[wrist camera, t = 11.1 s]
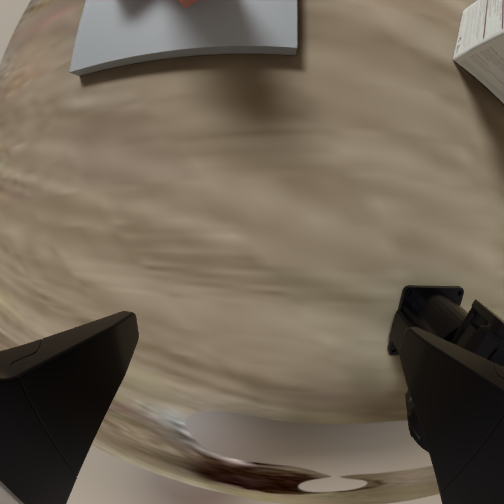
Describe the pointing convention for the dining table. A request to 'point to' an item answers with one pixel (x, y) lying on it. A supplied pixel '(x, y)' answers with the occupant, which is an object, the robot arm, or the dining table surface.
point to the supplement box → (483, 44)
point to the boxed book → (187, 2)
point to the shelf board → (180, 30)
